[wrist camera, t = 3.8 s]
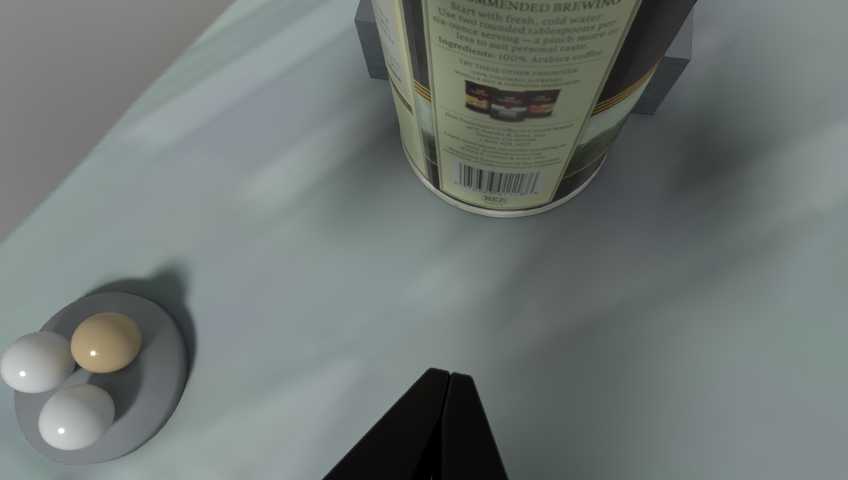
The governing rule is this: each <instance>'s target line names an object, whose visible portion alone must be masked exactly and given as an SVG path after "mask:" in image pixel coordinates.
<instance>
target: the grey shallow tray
mask: <svg viewBox="0 0 848 480" xmlns="http://www.w3.org/2000/svg"><path fill="white" fill-rule="evenodd" d="M354 20H355V24H356V28H357V31H358V35H359V39H360V42H361V46H362V49H363V53H364V57H365V60H366V64H367V67H368V71H369V75H370V78H378V79H385V80H389V75H388V71H387V67H386V63H385V58H384V54H383V49H382V45H381V40H380V36H379V32H378V27H377V23H376V18H375V14H374V9H373V5H372V0H360V3H359V6H358V10H357V13H356V16H355V19H354ZM692 26H693V8H692V9H691V11H690V13H689V14H688V16H687V18H686V20H685V21H684V23H683V25H682V26H681V28H680V30H679V32H678V33H677V35H676V37H675V38H674V40H673V42H672V43H671V45H670V46H669V48H668V50H667V51H666V53H665V55H664V56H663V58H662V60H661V62H660V63H659V65H658V67H657V68H656V70H655V72H654V74H653V75H652V77H651V79H650V80H649V82H648V84H647V86H646V87H645V89H644V91H643V93H642V94H641V96H640V98H639V100H638V101H637V103H636V105H635V107H634V108H633V110H632V111H631V112H635V113H643V114H650V115H653V114H654V113H655V111H656V110H657V108H658V107H659V105H660V104H661V102H662V101H663V99H664V98H665V97H666V95H667V94H668V92H669V91H670V89H671V88H672V86H673V85H674V83H675V82H676V80H677V79H678V77H679V76H680V75H681V73H682V72H683V70H684V69H685V67H686V66H687V64H688V63H689V61H690V60H691V47H692Z"/></svg>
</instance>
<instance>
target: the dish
mask: <svg viewBox="0 0 848 480" xmlns="http://www.w3.org/2000/svg"><path fill="white" fill-rule="evenodd" d="M187 368H188V354H187V347H186V342H185V339H184V336H183V333H182V331H181V329H180V327H179V325H178V323H177V322H176V320H175V319H174V318H173V316H172V315H171V314H170V313H169V312H168V311H167V310H166V309H164V308H163V307H162V306H160V305H159V304H157V303H155V302H153V301H151V300H149V299H146V298H143V297H140V296H137V295H133V294H130V293H124V292H102V293H97V294H93V295H90V296H87V297H84V298H81V299H79V300H77V301H75V302H73V303H71V304H70V305H68V306H66V307H65V308H63V309H62V310H60V311H59V312H58V313H57V314H55V315H54V316H53V317H52V318H51V319H50V320H49V321H48V322H47V323H46V324H45V325H44V326H43V327H42V328H41V329H40V331H39V332H34V333H30V334H27V335H24V336H22V337H20V338H19V339H17V340H16V341H14V342H13V343H12V344H11V345H10V346H9V347H8V348H7V349H6V351H5V352H4V354H3V356H2V358H1V362H0V372H1V375H2V377H3V379H4V381H5V382H6V383H7V384H8V385H9V386H10V387H12V388H13V389H15V396H14V400H15V411H16V415H17V420H18V422H19V425H20V428H21V430H22V432H23V434H24V436H25V437H26V439H27V440H28V441H29V443H30V444H31V445H32V446H33V447H34V448H35V449H36V450H37V451H38V452H39V453H41V454H42V455H44V456H46V457H47V458H49V459H51V460H54V461H56V462H59V463H64V464H68V465H88V464H95V463H100V462H106V461H110V460H114V459H117V458H120V457H123V456H125V455H127V454H129V453H131V452H133V451H135V450H137V449H138V448H140V447H141V446H143V445H144V444H146V443H147V442H148V441H149V440H150V439H151V438H153V437H154V436H155V435H156V434H157V433H158V432H159V431H160V429H161V428H162V427H163V426H164V425H165V424H166V422H167V421H168V419H169V418H170V417H171V415H172V413H173V412H174V410H175V408H176V406H177V404H178V402H179V400H180V398H181V395H182V392H183V389H184V386H185V382H186V377H187Z"/></svg>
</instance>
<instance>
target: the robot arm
mask: <svg viewBox="0 0 848 480" xmlns="http://www.w3.org/2000/svg"><path fill="white" fill-rule="evenodd" d="M432 473H433V474H432ZM431 478H432V480H509V479H508V476H507V474H506V471H505V468H504V465H503V462H502V459H501V457H500V454H499V451H498V448H497V445H496V442H495V439H494V437H493V434H492V431H491V428H490V425H489V422H488V420H487V417H486V414H485V411H484V408H483V405H482V403H481V400H480V397H479V394H478V391H477V388H476V386H475V383H474V380H473V378H472V377H471V376H470V375H466V374H461V373H456V372H453V373H451V375H450V373H449V371H447V370H442V369H437V368H429V369H428V370H427V371H426V372H425V373H424V374H423V375H422V376H421V377H420V378H419V379H418V380H417V381H416V382H415V383H414V384H413V385H412V386H411V387H410V388H409V389H408V390H407V392H406V393H405V394H404V395H403V396H402V397H401V398H400V399H399V400H398V401H397V402H396V403H395V404H394V405H393V406H392V407H391V408H390V409H389V410H388V411H387V412H386V413H385V414H384V416H383V417H382V418H381V419H380V420H379V421H378V422H377V423H376V424H375V425H374V426H373V427H372V428H371V429H370V430H369V431H368V432H367V433H366V434H365V435H364V436H363V437H362V438H361V439H360V441H359V442H358V443H357V444H356V445H355V446H354V447H353V448H352V449H351V450H350V451H349V452H348V453H347V454H346V455H345V456H344V457H343V458H342V459H341V460H340V461H339V462H338V463H337V465H336V466H335V467H334V468H333V469H332V470H331V471H330V472H329V473H328V474H327V475H326V476H325V477H324V478H323V479H322V480H431Z"/></svg>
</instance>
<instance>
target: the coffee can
mask: <svg viewBox="0 0 848 480" xmlns="http://www.w3.org/2000/svg"><path fill="white" fill-rule="evenodd" d="M696 1H697V0H372V5H373V9H374V14H375V18H376V23H377V27H378V32H379V36H380V40H381V45H382V49H383V54H384V58H385V63H386V67H387V71H388V75H389V80H390V84H391V89H392V94H393V98H394V102H395V107H396V111H397V115H398V120H399V124H400V136H401V141H402V145H403V149H404V153H405V156H406V158H407V160H408V161H409V163H410V165H411V167H412V169H413V171H414V172H415V173H416V175H417V176H418V177H419V179H420V180H421V181H422V182H423V183H424V184H425V185H426V186H427V187H428V188H429V189H430V190H431V191H432V192H433V193H434V194H436V195H437V196H439V197H440V198H441V199H443V200H445V201H446V202H448V203H450V204H452V205H454V206H456V207H457V208H459V209H462V210H465V211H468V212H472V213H476V214H479V215H484V216H491V217H500V218H514V217H522V216H529V215H533V214H537V213H542V212H546V211H548V210H551V209H553V208H555V207H557V206H559V205H561V204H563V203H565V202H567V201H568V200H570V199H571V198H572V197H574V196H576V195H577V194H578V193H579V192H580V191H582V190H583V189H584V188H585V187H586V186H587V185H588V184H589V183H590V182H591V180H592V179H593V178H594V177H595V175H596V174H597V173H598V171H599V170H600V168H601V166H602V165H603V163H604V161H605V159H606V156H607V154H608V151H609V149H610V148H611V146H612V144H613V142H614V140H615V139H616V137H617V135H618V133H619V132H620V130H621V128H622V126H623V125H624V123H625V121H626V120H627V118H628V116H629V115H630V113H631V111H632V110H633V108H634V107H635V105H636V103H637V101H638V100H639V98H640V96H641V94H642V93H643V91H644V89H645V87H646V86H647V84H648V82H649V80H650V79H651V77H652V75H653V74H654V72H655V70H656V68H657V67H658V65H659V63H660V62H661V60H662V58H663V56H664V55H665V53H666V51H667V50H668V48H669V46H670V45H671V43H672V42H673V40H674V38H675V37H676V35H677V33H678V32H679V30H680V28H681V26H682V25H683V23H684V21H685V20H686V18H687V16H688V14H689V13H690V11H691V9H692V8H693V6H694V5H695V3H696Z"/></svg>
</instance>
